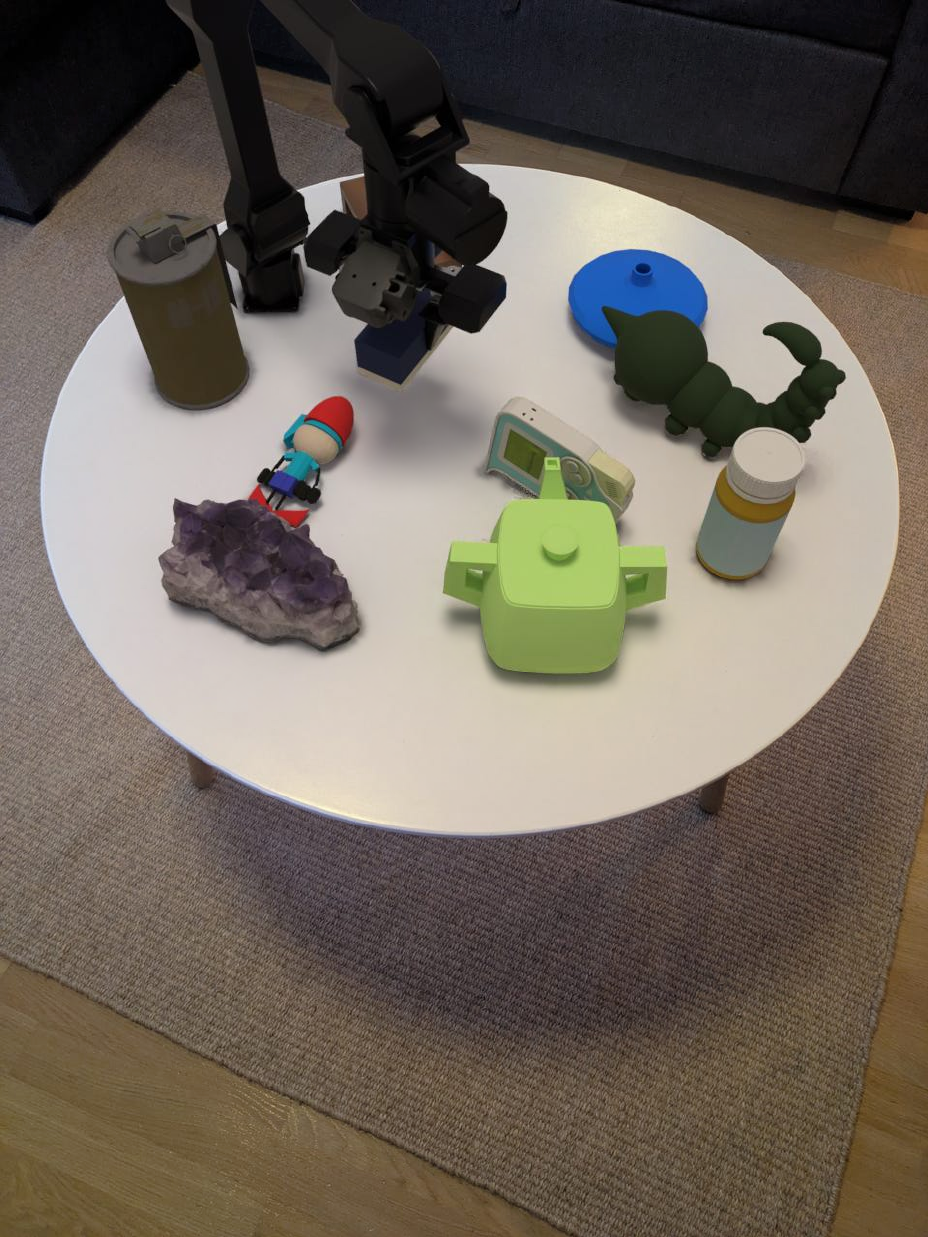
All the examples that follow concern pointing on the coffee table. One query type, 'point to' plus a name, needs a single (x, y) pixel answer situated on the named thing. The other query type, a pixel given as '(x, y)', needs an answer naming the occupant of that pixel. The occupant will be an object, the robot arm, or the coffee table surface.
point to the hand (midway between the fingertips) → (407, 337)
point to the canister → (181, 306)
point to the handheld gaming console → (540, 434)
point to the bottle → (750, 503)
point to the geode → (257, 574)
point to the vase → (633, 290)
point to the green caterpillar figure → (715, 379)
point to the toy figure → (307, 455)
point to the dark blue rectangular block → (396, 348)
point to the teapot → (554, 581)
